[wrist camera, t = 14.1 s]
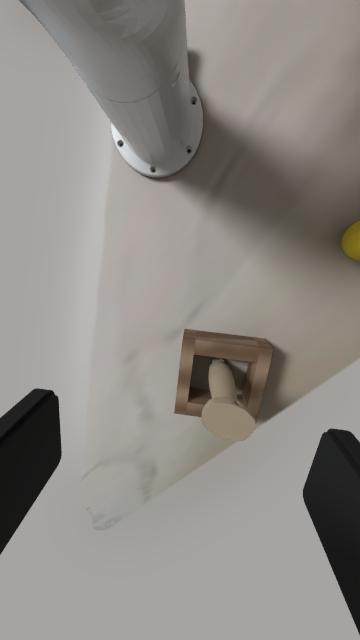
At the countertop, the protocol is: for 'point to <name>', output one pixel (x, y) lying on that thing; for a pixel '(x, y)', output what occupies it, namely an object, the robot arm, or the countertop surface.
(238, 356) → the square frame
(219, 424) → the handle
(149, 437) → the countertop surface
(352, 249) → the lemon
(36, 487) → the robot arm
